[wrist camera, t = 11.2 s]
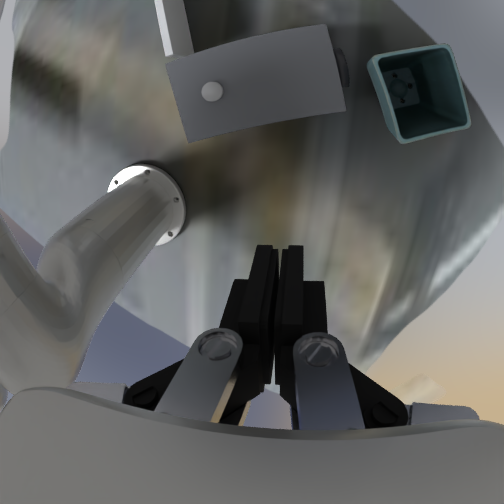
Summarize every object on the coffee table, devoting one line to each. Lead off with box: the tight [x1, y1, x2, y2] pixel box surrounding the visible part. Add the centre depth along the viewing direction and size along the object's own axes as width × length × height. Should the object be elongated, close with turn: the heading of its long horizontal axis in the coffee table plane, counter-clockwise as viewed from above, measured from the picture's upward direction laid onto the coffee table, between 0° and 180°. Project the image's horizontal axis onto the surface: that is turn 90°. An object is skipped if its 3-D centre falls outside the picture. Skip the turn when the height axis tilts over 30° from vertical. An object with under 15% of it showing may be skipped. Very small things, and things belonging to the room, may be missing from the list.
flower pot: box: [367, 44, 471, 144], centre depth 24 cm, size 9×9×9 cm
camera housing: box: [165, 24, 350, 143], centre depth 27 cm, size 17×9×8 cm, turn 105°
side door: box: [155, 0, 194, 59], centre depth 23 cm, size 14×2×7 cm, turn 12°
